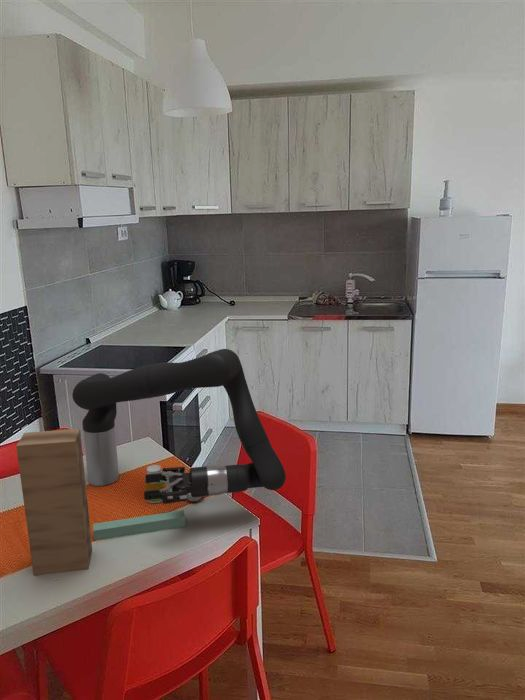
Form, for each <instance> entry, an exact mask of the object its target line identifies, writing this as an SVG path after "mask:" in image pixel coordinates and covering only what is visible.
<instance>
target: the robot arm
mask: <svg viewBox="0 0 525 700" xmlns="http://www.w3.org/2000/svg"><path fill="white" fill-rule="evenodd" d="M242 365H243V364H242V363H241V359H240V358H239V356H238V354H237V353H236V352H235V351H233V350H232V349H229V348H221V349H217V350H214V351H211V352H208V353H207V354H204V355H201V356H199V357H196V358H193V359H190V360H186V361H182V362H157V363H151V364H147V365H142V366H139V367H136V368H133V369H130V370H127V371H125V372H123V373H120V374H118V375H115V376H112V377H110V376H109V375H108V374H106V373H101V372H99V373H95V374H93V375H90V376H88V377H86V378H83V379H82V380H80V381H79V382H78V383H76V385H75V386H74V388H73V390H72V401H73V402H74V404H76V405H77V407H79V408H81V409H83V410H87V413H86V415H85V416H84V418H83V419H82V422H81V423H82V433H83V434H82V435H83V443H84V453H85V462H86V472H87V474H86V475H87V482H88V483H89V485H92V486H94V487H95V486H97V487H98V486H99V487H102V486H108V485H112V484H113V483H115V482H116V481H118V480H119V478H120V471H119V459H118V449H117V439H116V438H117V437H116V426H115V424H116V423H115V420H116V417H117V403H124V402H131V401H132V402H133V401H141V400H144V399H145V400H146V399H152V398H153V399H154V398H158V397H163V396H167V395H171V394H175V393H178V392H181V391H184V390H189V389H202V388H219V387H223V388H224V390H225V392H226V394H227V395H228V398H229V402H230V404H231V409H232V414H233V415H232V416H233V422H234V426H235V427H234V428H235V430H236V433H237V437H238V438H239V441H240V442H241V443H240V444H241V445H242V447H243V449H244V451H245V454H246V456H248V458H249V459H250V460H251V462H249V463H245V464H243V463H242V464H230V465H219V464H218V465H207V466H206V465H205V466H193V467H190V468H189V472H186V467H185V466H174V467H163V468H161V472H160V473H156V474H147V473H146V474H145V477H144V482H145V481H146V483H154V482H160V481H161V482H164V483H165V484H166V486H165V488H163V489H161V490H160V491H159V489H158V490H147V491H146V490H144V493H143V497H144V500H145V501H147V500H152V499H160V500H162V503H163V504H164V505H169V504H175V503H181V502H182V503H183V502H187V501H188V499H187V494H188V493H191V496H192V497H202V498H203V497H209V496H210V497H211V496H220V495H224V494H230V493H241V492H245V491H247V490H248V489H255V488H264V489H267V490H269V491H278V490H280V489H281V488H282V487H283V486H284V485H285V483H286V481H287V480H286V479H287V473H286V469H285V468H284V466H283V464H282V462H281V460H280V458H279V456H278V455H277V453H276V451H275V450H274V448H273V446H272V444H271V440H270V438H269V436H268V435H267V433H266V430H265V428H264V426H263V423H262V421H261V419H260V417H259V414H258V413H257V409H256V408H255V404H254V402H253V398H252V396H251V393H250V389H249V386H248V383H247V381H246V377H245V373H244V368H243V366H242Z"/></svg>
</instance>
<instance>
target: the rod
mask: <svg viewBox="0 0 525 700" xmlns="http://www.w3.org/2000/svg"><path fill="white" fill-rule="evenodd" d="M184 527H186V514H185V510H183V509H182V510H175V511H169V512H162V513H155V514H149V515H143V516H137V517H130V518H129V517H128V518H123V519H117V520H116V519H115V520H110V521H104V522H96V523H93V528H92V532H93V533H92V534H93V541H95V542H96V541H101V540H102V541H103V540H107V539H114V538H120V537H126V536H132V535H133V536H134V535H138V534H145V533H152V532H158V531H159V532H160V531H164V530H171V529H177V528H184Z"/></svg>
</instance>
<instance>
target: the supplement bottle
mask: <svg viewBox="0 0 525 700" xmlns="http://www.w3.org/2000/svg"><path fill="white" fill-rule="evenodd" d="M161 471H162V467H161V465H157V464H153V465H149V466H147V467H146V474H156V473H160V472H161ZM144 484H145V491H147V490H158V489H159V491H160V490H161V489H163V488H165V487H166V486H165V485H166V483H165V482H161V481H160V482H154V483H146V481H145V480H144ZM146 501H147V502H148V503H151V504H159V503H161V502H162V503H163V501H162V500H160V499H152V500H146Z"/></svg>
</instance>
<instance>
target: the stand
mask: <svg viewBox="0 0 525 700" xmlns="http://www.w3.org/2000/svg"><path fill="white" fill-rule="evenodd" d="M16 453H17V461H18V469H19V475H20V478H19V479H20V484H21V491H22V492H21V493H22V500H23V507H24V514H25V523H26V528H27V535H28V542H29V550H30V551H29V552H30V556H31V564H32V565H31V566H32V574H33V576H40V575H49V574H58V573H65V572H66V573H67V572H73V571H75V572H76V571H81V570H89V568H90V564H91V560H92V559H91V558H92V554H93V545H92V544H93V543H92V535H91V532H92V531H91V525H90V514H89V512H90V511H89V504H88V494H87V484H86V474H85V472H86V471H85V466H84V465H85V463H84V454H83V444H82V433H81V428H71V429H59V430H58V429H56V430H46V431H42V430H41V431H30V432H23V435H22V436H21V438H20V439H19V441H18V442H17V444H16Z"/></svg>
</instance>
